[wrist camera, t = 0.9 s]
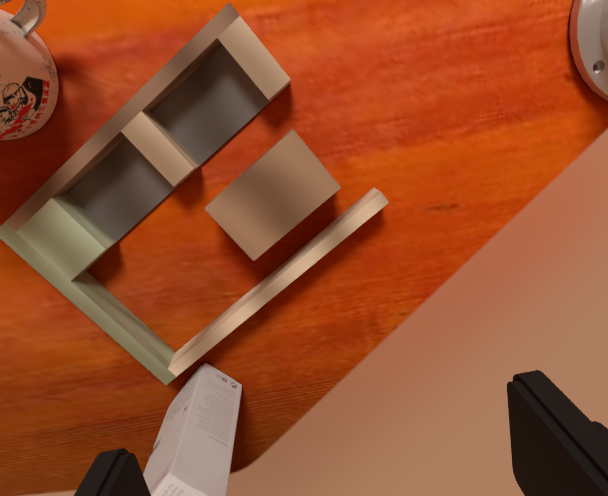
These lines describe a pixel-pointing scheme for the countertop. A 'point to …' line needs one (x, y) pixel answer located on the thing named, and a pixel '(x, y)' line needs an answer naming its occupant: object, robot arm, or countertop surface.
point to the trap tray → (161, 185)
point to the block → (272, 195)
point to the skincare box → (196, 438)
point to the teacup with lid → (25, 72)
